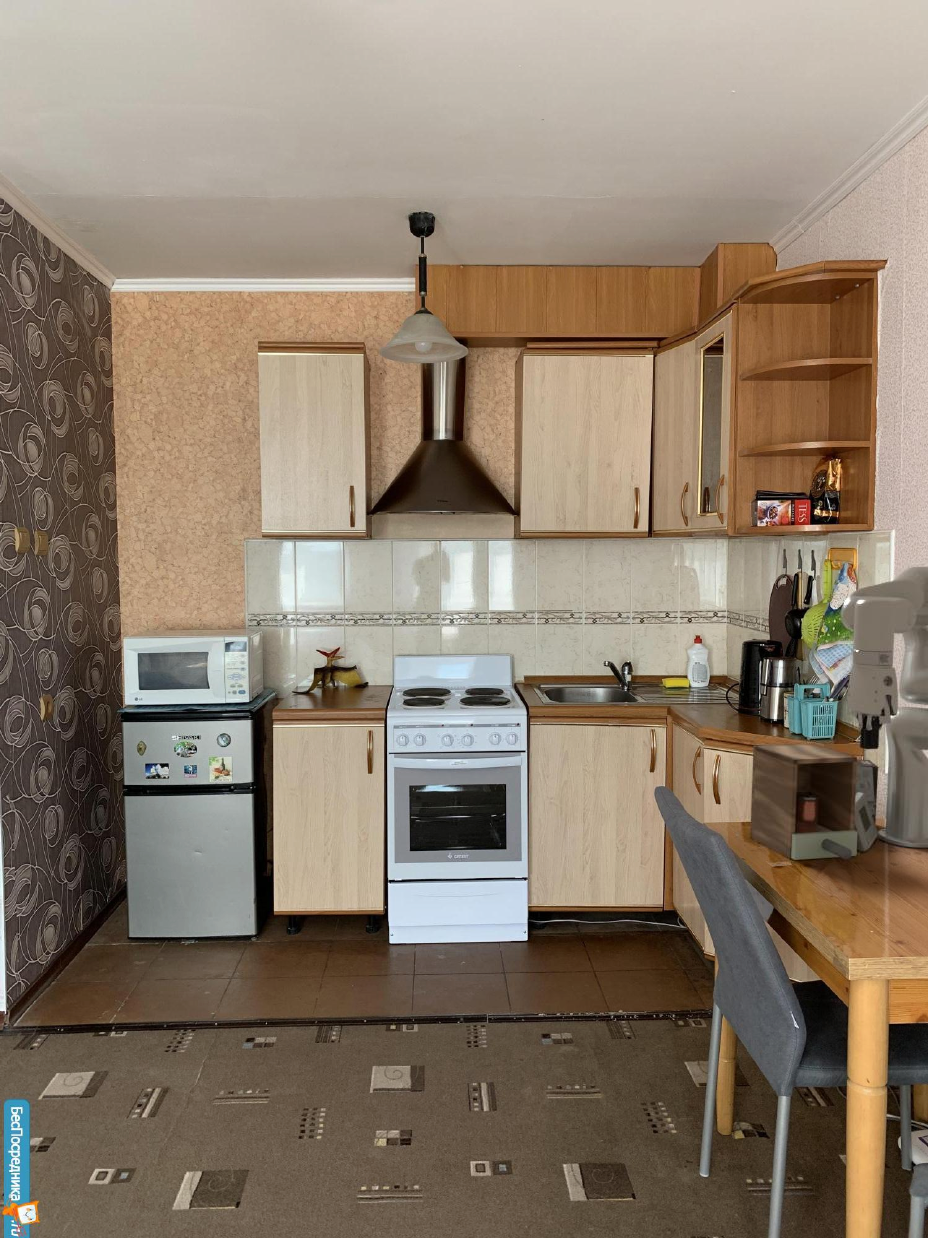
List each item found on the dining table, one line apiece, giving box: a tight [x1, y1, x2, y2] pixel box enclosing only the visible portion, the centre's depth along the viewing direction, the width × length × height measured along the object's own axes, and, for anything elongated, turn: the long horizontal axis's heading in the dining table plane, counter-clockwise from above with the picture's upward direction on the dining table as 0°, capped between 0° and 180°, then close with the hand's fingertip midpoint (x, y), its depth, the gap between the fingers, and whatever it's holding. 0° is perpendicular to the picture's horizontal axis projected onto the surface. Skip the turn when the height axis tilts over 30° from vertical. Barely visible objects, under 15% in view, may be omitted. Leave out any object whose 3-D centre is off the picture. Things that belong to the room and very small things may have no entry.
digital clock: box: [854, 792, 879, 852], centre depth 215 cm, size 16×9×11 cm, turn 137°
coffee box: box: [856, 758, 879, 825], centre depth 229 cm, size 9×6×16 cm
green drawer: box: [791, 824, 858, 861], centre depth 207 cm, size 16×23×5 cm
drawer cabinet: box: [749, 743, 858, 860], centre depth 211 cm, size 16×16×22 cm
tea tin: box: [795, 792, 819, 834], centre depth 210 cm, size 5×5×10 cm
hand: (869, 748), depth 189 cm, fingers closed
